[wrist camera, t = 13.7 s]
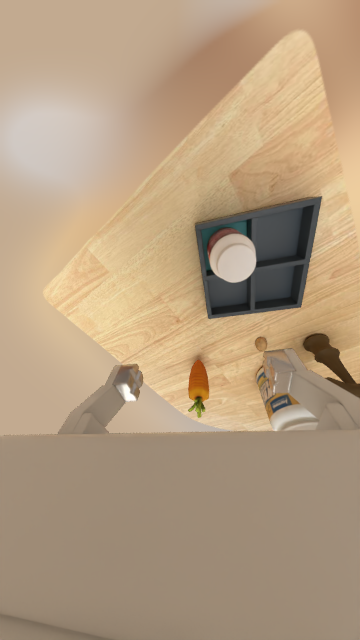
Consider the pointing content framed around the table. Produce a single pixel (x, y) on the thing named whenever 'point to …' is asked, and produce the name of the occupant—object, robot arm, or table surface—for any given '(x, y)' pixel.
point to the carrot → (198, 387)
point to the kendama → (331, 362)
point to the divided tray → (263, 258)
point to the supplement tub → (284, 408)
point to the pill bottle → (231, 255)
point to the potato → (261, 344)
